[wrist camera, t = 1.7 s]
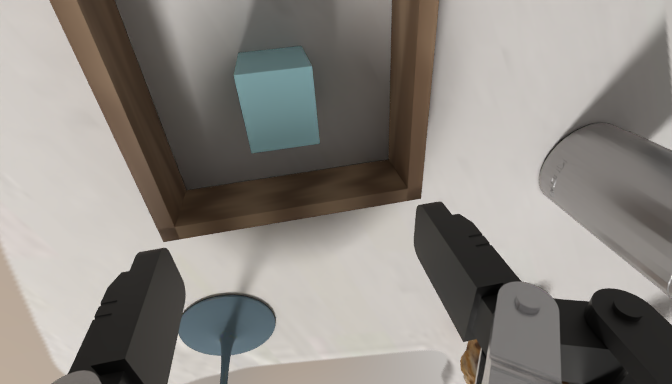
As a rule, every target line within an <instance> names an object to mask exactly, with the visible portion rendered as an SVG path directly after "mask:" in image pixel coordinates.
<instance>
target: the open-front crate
mask: <svg viewBox="0 0 672 384" xmlns="http://www.w3.org/2000/svg"><path fill="white" fill-rule="evenodd" d="M50 3H51V5H52V7H53V9H54V11H55V13H56V15H57V17H58V19H59V22H60V24H61V26H62V28H63V30H64V32H65V34H66V36H67V39H68V41H69V43H70V45H71V47H72V49H73V51H74V53H75V55H76V58H77V60H78V62H79V64H80V66H81V68H82V70H83V72H84V75H85V77H86V79H87V81H88V83H89V85H90V87H91V89H92V91H93V94H94V96H95V98H96V100H97V102H98V104H99V106H100V108H101V111H102V113H103V115H104V117H105V119H106V121H107V123H108V125H109V127H110V130H111V132H112V134H113V136H114V138H115V140H116V142H117V144H118V147H119V149H120V151H121V153H122V155H123V157H124V159H125V161H126V163H127V166H128V168H129V170H130V172H131V174H132V176H133V178H134V180H135V183H136V185H137V187H138V189H139V191H140V193H141V195H142V197H143V199H144V202H145V204H146V206H147V208H148V210H149V212H150V214H151V216H152V218H153V221H154V223H155V225H156V227H157V229H158V231H159V233H160V235H161V238H162V240H163V242H167V241H173V240H179V239H184V238H190V237H196V236H202V235H208V234H214V233H220V232H226V231H232V230H238V229H244V228H250V227H255V226H261V225H267V224H273V223H279V222H285V221H291V220H297V219H303V218H309V217H315V216H321V215H327V214H332V213H338V212H344V211H350V210H356V209H362V208H368V207H374V206H380V205H386V204H392V203H398V202H403V201H409V200H415V199H421V192H422V181H423V171H424V160H425V149H426V138H427V127H428V116H429V105H430V94H431V83H432V72H433V61H434V50H435V39H436V28H437V17H438V6H439V0H392V27H391V70H390V112H389V155H388V160H381V161H375V162H368V163H362V164H355V165H349V166H342V167H336V168H329V169H323V170H316V171H310V172H303V173H297V174H290V175H284V176H277V177H270V178H264V179H257V180H251V181H244V182H238V183H231V184H225V185H218V186H212V187H205V188H199V189H192V190H186V188H185V186H184V183H183V180H182V178H181V175H180V172H179V170H178V167H177V164H176V162H175V159H174V157H173V154H172V151H171V149H170V146H169V143H168V141H167V138H166V135H165V133H164V130H163V127H162V125H161V122H160V120H159V117H158V114H157V112H156V109H155V106H154V104H153V101H152V98H151V96H150V93H149V90H148V88H147V85H146V83H145V80H144V77H143V75H142V72H141V69H140V67H139V64H138V61H137V59H136V56H135V53H134V51H133V48H132V46H131V43H130V40H129V38H128V35H127V32H126V30H125V27H124V24H123V22H122V19H121V16H120V14H119V11H118V9H117V6H116V3H115V1H114V0H50Z"/></svg>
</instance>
